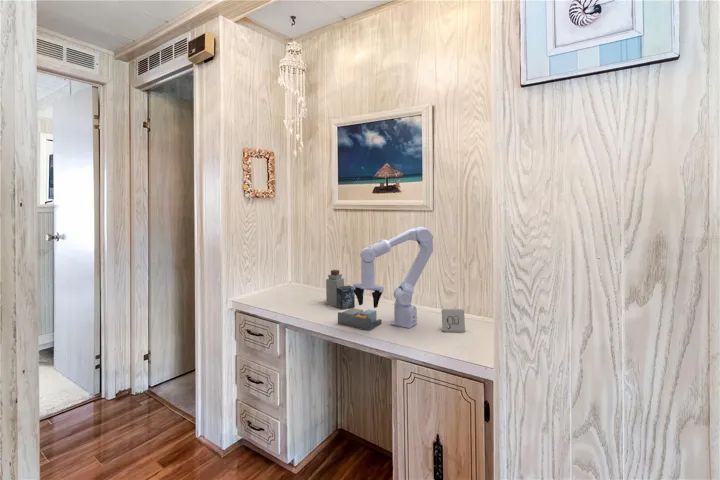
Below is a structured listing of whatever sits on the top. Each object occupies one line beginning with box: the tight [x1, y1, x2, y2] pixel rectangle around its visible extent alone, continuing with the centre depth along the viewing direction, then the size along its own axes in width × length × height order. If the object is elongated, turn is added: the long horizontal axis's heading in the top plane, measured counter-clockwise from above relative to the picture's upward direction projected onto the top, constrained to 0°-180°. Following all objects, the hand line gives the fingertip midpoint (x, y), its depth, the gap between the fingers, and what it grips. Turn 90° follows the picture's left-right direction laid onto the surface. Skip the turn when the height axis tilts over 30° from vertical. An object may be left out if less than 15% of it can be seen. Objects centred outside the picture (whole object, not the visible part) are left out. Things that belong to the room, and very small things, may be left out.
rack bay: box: [337, 307, 383, 331], centre depth 164 cm, size 17×10×6 cm, turn 57°
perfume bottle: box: [325, 269, 345, 307], centre depth 195 cm, size 7×7×18 cm
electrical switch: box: [441, 308, 466, 333], centre depth 156 cm, size 9×5×9 cm, turn 87°
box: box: [336, 284, 356, 310], centre depth 189 cm, size 8×6×11 cm
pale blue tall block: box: [360, 308, 378, 323], centre depth 163 cm, size 4×7×6 cm, turn 147°
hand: (368, 306), depth 162 cm, fingers open, 7 cm apart
